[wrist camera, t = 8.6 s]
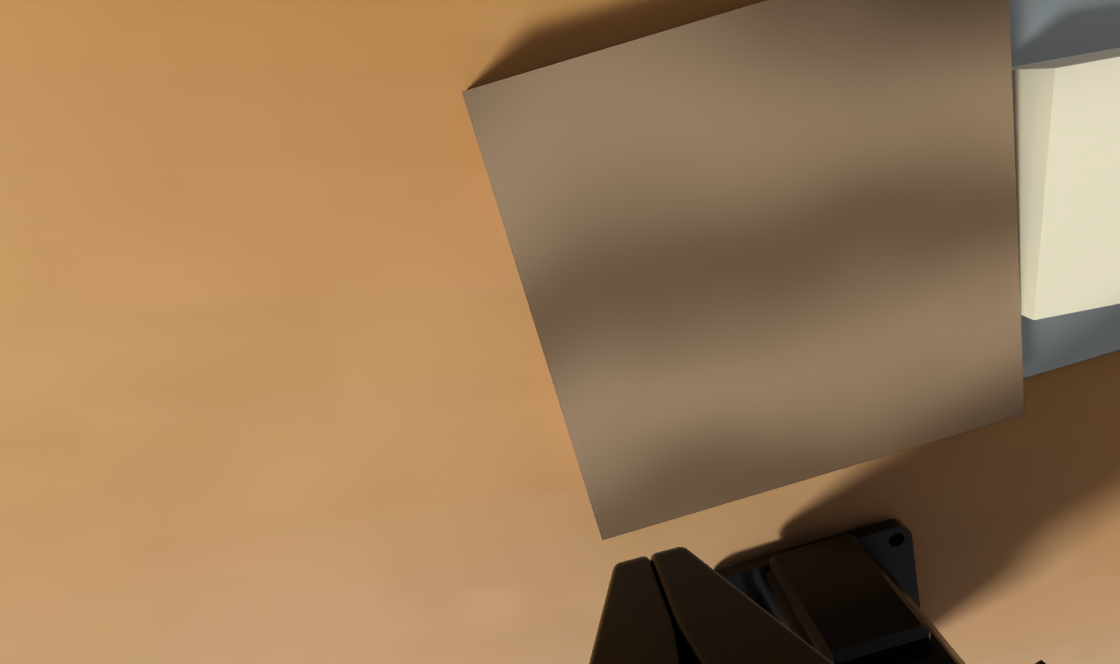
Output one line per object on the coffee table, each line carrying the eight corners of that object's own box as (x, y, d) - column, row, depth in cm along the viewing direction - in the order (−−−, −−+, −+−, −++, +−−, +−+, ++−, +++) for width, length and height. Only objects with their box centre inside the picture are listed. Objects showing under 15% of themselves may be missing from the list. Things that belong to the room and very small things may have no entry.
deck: (975, 384, 21) (1024, 414, 19) (591, 498, 21) (602, 540, 19) (947, -54, 16) (1006, -72, 14) (464, 90, 16) (462, 91, 14)
